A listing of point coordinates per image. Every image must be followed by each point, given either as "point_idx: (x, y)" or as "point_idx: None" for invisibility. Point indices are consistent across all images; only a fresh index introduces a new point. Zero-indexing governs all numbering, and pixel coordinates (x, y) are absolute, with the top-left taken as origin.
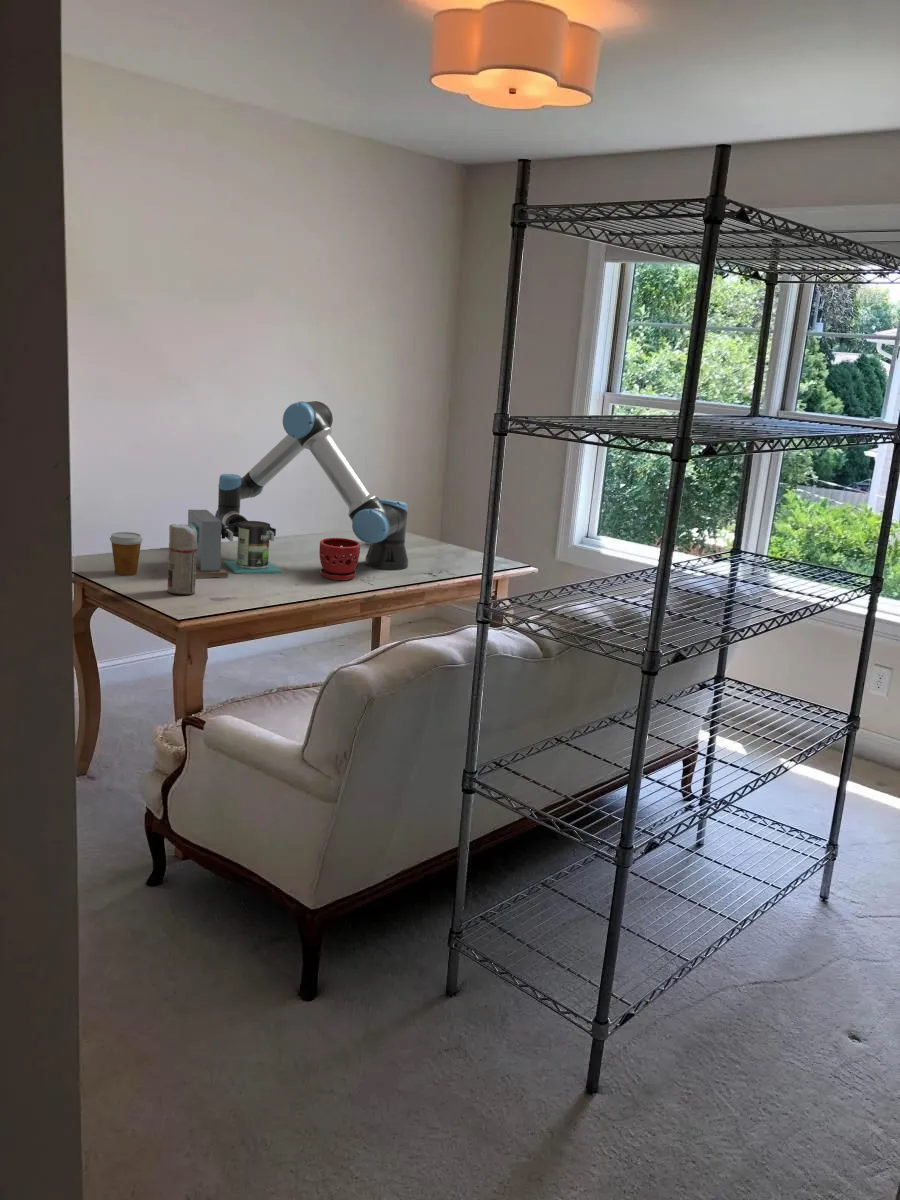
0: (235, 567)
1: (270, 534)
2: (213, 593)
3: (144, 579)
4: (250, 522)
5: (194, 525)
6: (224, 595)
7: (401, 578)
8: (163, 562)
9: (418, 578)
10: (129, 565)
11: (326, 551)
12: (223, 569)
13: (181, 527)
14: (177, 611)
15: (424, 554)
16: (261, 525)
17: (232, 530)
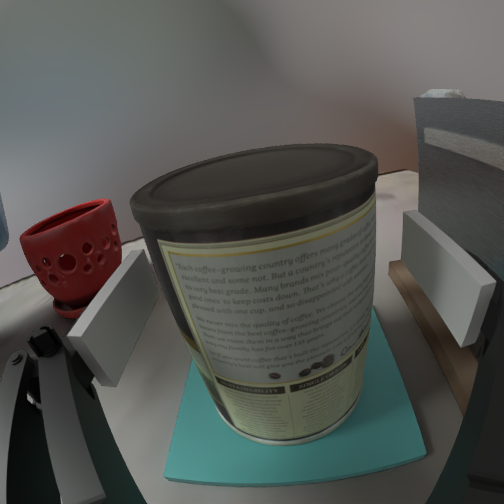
0: (370, 346)
1: (138, 277)
2: (396, 208)
3: None
4: (261, 181)
5: None
6: (376, 204)
7: (23, 292)
8: None
9: (10, 292)
10: None
11: (114, 214)
12: (408, 287)
13: (437, 89)
14: (418, 177)
15: None
16: (219, 165)
17: (456, 462)
